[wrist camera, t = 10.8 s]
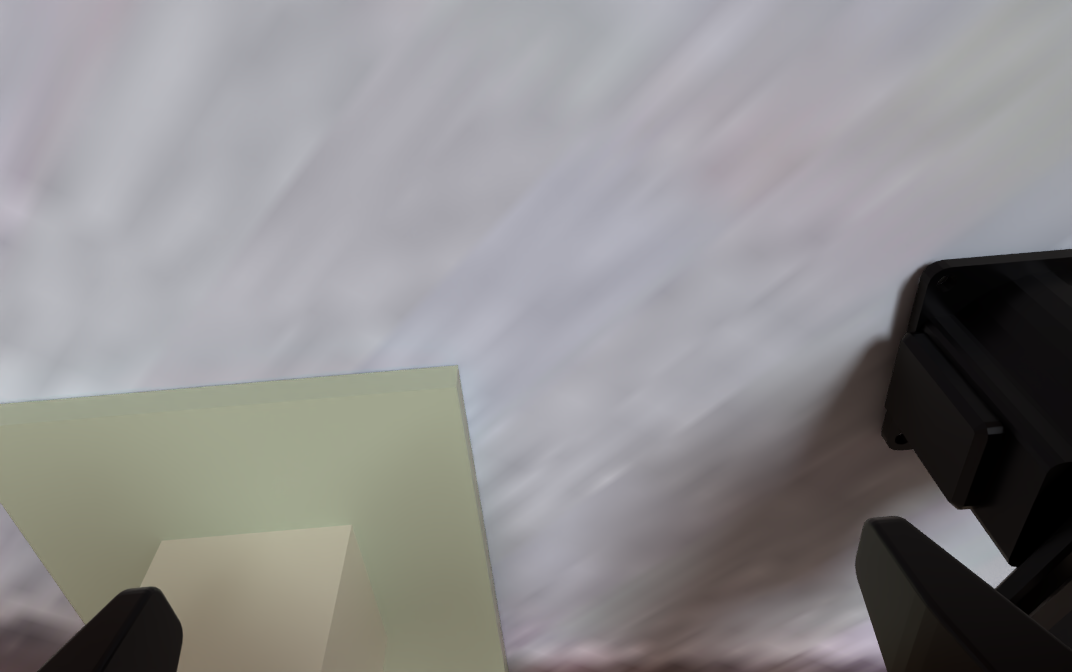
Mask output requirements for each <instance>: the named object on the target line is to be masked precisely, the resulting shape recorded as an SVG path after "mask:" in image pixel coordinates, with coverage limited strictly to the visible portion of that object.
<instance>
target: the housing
mask: <svg viewBox="0 0 1072 672" xmlns="http://www.w3.org/2000/svg"><path fill="white" fill-rule="evenodd" d="M149 586H154V587H157V588H159V589H160V590H161V591H162V592H163V594H164V595H165V597H166V599H167V600H168V602H169V604H170V605H171V607H172V609H173V610H174V612H175V614H176V615H177V617H178V619H179V620H180V622H181V625H182V629H183V643H182V648H181V653H180V658H179V663H178V668H177V672H383V668H384V660H385V653H386V646H387V635H386V631H385V628H384V625H383V622H382V619H381V616H380V612H379V609H378V606H377V603H376V600H375V597H374V593H373V590H372V587H371V584H370V581H369V578H368V574H367V571H366V568H365V565H364V562H363V558H362V555H361V552H360V549H359V546H358V543H357V539H356V536H355V533H354V530H353V527H352V525H342V526H331V527H319V528H307V529H295V530H283V531H271V532H259V533H247V534H235V535H223V536H212V537H200V538H188V539H176V540H164V541H161V543H160V545H159V548H158V550H157V552H156V554H155V556H154V558H153V560H152V562H151V565H150V567H149V569H148V571H147V573H146V575H145V577H144V579H143V581H142V584H141V586H140V587H149Z"/></svg>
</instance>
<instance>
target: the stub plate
mask: <svg viewBox="0 0 1072 672" xmlns="http://www.w3.org/2000/svg"><path fill="white" fill-rule="evenodd" d="M0 502H1V504H2V505H3V507H4V508H5V510H6V511H7V513H8V514H9V515H10V517H11V518H12V520H13V521H14V523H15V524H16V526H17V527H18V528H19V530H20V531H21V533H22V534H23V536H24V537H25V539H26V540H27V541H28V543H29V544H30V546H31V547H32V549H33V550H34V552H35V553H36V554H37V556H38V557H39V559H40V560H41V562H42V563H43V565H44V566H45V567H46V569H47V570H48V572H49V573H50V575H51V576H52V578H53V579H54V580H55V582H56V583H57V585H58V586H59V588H60V589H61V591H62V592H63V593H64V595H65V596H66V598H67V599H68V601H69V602H70V604H71V605H72V606H73V608H74V609H75V611H76V612H77V614H78V615H79V617H80V618H81V619H82V621H83V622H84V624H85V625H86V624H87V623H88V622H89V621H90V620H91V619H92V618H93V617H94V616H95V615H96V614H97V613H98V612H99V611H100V610H102V609H103V608H104V607H105V606H106V605H107V604H108V603H109V602H110V601H111V600H112V599H113V598H114V597H115V596H116V595H117V594H119V593H120V592H122V591H123V590H126V589H130V588H138V587H140V586H141V584H142V581H143V579H144V577H145V575H146V573H147V571H148V569H149V567H150V565H151V562H152V560H153V558H154V556H155V554H156V552H157V550H158V548H159V545H160V543H161V541H164V540H176V539H188V538H200V537H212V536H223V535H235V534H247V533H259V532H271V531H283V530H295V529H307V528H319V527H331V526H342V525H352V527H353V530H354V533H355V536H356V539H357V543H358V546H359V549H360V552H361V555H362V558H363V562H364V565H365V568H366V571H367V574H368V578H369V581H370V584H371V587H372V590H373V593H374V597H375V600H376V603H377V606H378V609H379V612H380V616H381V619H382V622H383V625H384V628H385V631H386V635H387V646H386V653H385V660H384V668H383V672H508V666H507V659H506V653H505V647H504V641H503V635H502V629H501V623H500V617H499V611H498V605H497V599H496V593H495V587H494V581H493V575H492V569H491V563H490V557H489V551H488V545H487V539H486V533H485V527H484V520H483V514H482V508H481V502H480V496H479V490H478V484H477V478H476V472H475V466H474V460H473V454H472V448H471V442H470V436H469V430H468V424H467V418H466V412H465V406H464V400H463V394H462V388H461V381H460V375H459V369H458V365H456V366H444V367H433V368H421V369H409V370H397V371H385V372H374V373H362V374H350V375H338V376H326V377H315V378H303V379H291V380H279V381H267V382H256V383H244V384H232V385H220V386H208V387H197V388H185V389H173V390H161V391H149V392H138V393H126V394H114V395H102V396H90V397H79V398H67V399H55V400H43V401H31V402H20V403H8V404H0Z"/></svg>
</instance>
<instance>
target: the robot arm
mask: <svg viewBox="0 0 1072 672" xmlns="http://www.w3.org/2000/svg"><path fill="white" fill-rule="evenodd" d="M948 275H949V276H948ZM945 276H948V278H947V279H946V280H945V281H944V282H943V283H940V284H937V283H938V281H939V280H940V279H941V278H943V277H945ZM885 408H886V410H887V411H886V415H885V419H884V423H883V427H882V431H881V435H882V437H883V439H884V440H885V442H886V443H887V445H888V446H889V448H891V449H893V450H910V449H913V450H914V451H915V453H916V454H917V456H918V457H919V459H920V460H921V462H922V463H923V465H924V466H925V468H926V469H927V470H928V472H929V473H930V475H931V476H932V478H933V479H934V481H935V482H936V484H937V485H938V487H939V488H940V490H941V491H942V493H943V494H944V496H945V497H946V499H947V500H948V501H949V502H950V503H951V504H952V505H953V506H954V507H955V508H957V509H959V510H963V509H971V511H972V512H973V514H974V515H975V516H976V518H977V519H978V521H979V522H980V524H981V525H982V526H983V528H984V529H985V531H986V532H987V534H988V535H989V536H990V538H991V539H992V541H993V542H994V544H995V545H996V546H997V548H998V549H999V551H1000V552H1001V554H1002V555H1003V557H1004V558H1005V559H1006V561H1007V562H1008V564H1010V565H1011V566H1014V567H1017V568H1016V569H1015V570H1014V571H1013V572H1011V573H1010V574H1009V575H1008V576H1007V577H1006V578H1005V579H1004V580H1003V581H1002V582H1001V583H1000V584H999V585H998V586H997V587H996V588H995V589H994V588H993V587H991V586H990V585H989V584H987V583H986V582H985V581H984V580H982V579H981V578H980V577H979V576H977V575H976V574H975V573H973V572H972V571H971V570H970V569H968V568H967V567H966V566H964V565H963V564H962V563H961V562H959V561H958V560H957V559H955V558H954V557H953V556H952V555H950V554H949V553H948V552H946V551H945V550H944V549H943V548H941V547H940V546H939V545H938V544H936V543H935V542H934V541H932V540H931V539H930V538H929V537H927V536H926V535H925V534H923V533H922V532H921V531H920V530H918V529H917V528H916V527H914V526H913V525H912V524H911V523H909V522H908V521H907V520H905V519H903V518H901V517H898V516H888V517H877V518H870V519H868V520H867V521H866V522H865V523H864V525H863V529H862V533H861V538H860V542H859V546H858V551H857V555H856V560H855V569H856V575H857V579H858V583H859V586H860V589H861V592H862V595H863V598H864V601H865V604H866V607H867V610H868V613H869V616H870V620H871V623H872V626H873V629H874V632H875V635H876V638H877V641H878V644H879V647H880V650H881V653H882V656H883V660H884V663H885V666H886V669H887V672H1072V249H1066V250H1054V251H1042V252H1031V253H1019V254H1007V255H995V256H984V257H972V258H960V259H948V260H941V261H937V262H935V263H933V264H931V265H930V266H928V267H927V268H926V269H925V270H924V272H923V274H922V276H921V278H920V282H919V286H918V290H917V293H916V297H915V301H914V305H913V309H912V313H911V317H910V321H909V325H908V329H907V333H906V335H905V336H904V337H903V339H902V340H901V342H900V346H899V350H898V354H897V358H896V362H895V366H894V370H893V374H892V378H891V382H890V386H889V390H888V394H887V397H886V401H885ZM900 433H902V434H900ZM899 434H900V435H899ZM182 643H183V629H182V625H181V622H180V620H179V619H178V617H177V615H176V614H175V612H174V610H173V609H172V607H171V605H170V604H169V602H168V600H167V599H166V597H165V595H164V594H163V592H162V591H161V590H160V589H159V588H157V587H154V586H149V587H138V588H130V589H126V590H123V591H122V592H120V593H119V594H117V595H116V596H115V597H114V598H113V599H112V600H111V601H110V602H109V603H108V604H107V605H106V606H105V607H104V608H103V609H102V610H100V611H99V612H98V613H97V614H96V615H95V616H94V617H93V618H92V619H91V620H90V621H89V622H88V623H87V624H86V625H85V626H84V627H83V628H82V629H81V630H80V631H79V632H78V633H76V634H75V635H74V636H73V637H72V638H71V639H70V640H69V641H68V642H67V643H66V644H65V645H64V646H63V647H62V648H61V649H60V650H59V651H58V652H57V653H56V654H55V655H54V656H52V657H51V658H50V659H49V660H48V661H47V662H46V663H45V664H44V665H43V666H42V667H41V668H40V669H39V670H38V671H37V672H177V668H178V663H179V658H180V653H181V648H182Z"/></svg>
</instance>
